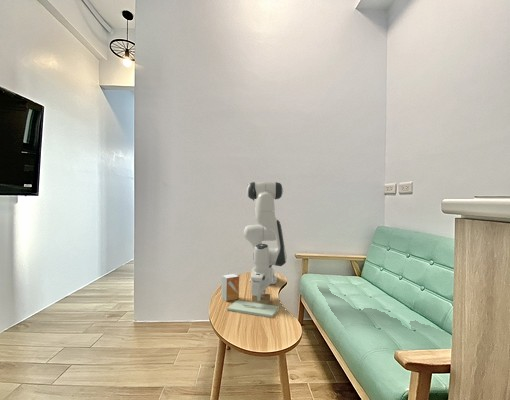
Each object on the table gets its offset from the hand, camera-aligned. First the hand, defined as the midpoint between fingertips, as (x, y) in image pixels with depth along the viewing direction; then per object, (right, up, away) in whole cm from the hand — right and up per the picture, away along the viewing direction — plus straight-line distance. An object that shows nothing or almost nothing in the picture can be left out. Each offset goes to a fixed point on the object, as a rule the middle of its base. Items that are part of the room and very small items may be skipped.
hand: (261, 298), depth 163 cm
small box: (-18, -2, +4) cm, 18 cm away
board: (-4, -2, -11) cm, 12 cm away
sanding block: (0, -2, 0) cm, 2 cm away
